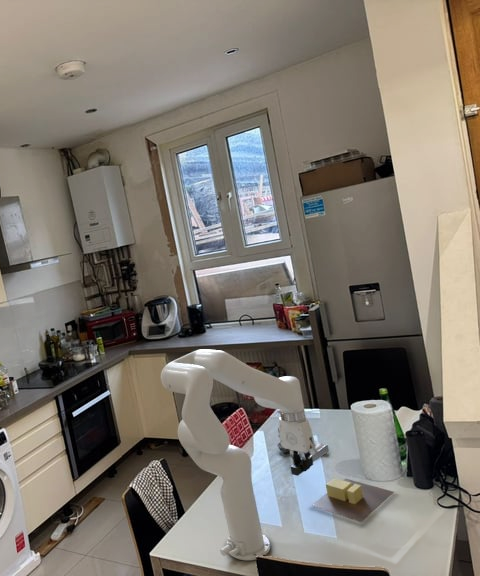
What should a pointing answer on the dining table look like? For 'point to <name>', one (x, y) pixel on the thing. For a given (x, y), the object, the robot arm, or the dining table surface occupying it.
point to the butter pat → (355, 493)
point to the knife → (297, 467)
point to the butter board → (361, 508)
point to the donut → (317, 445)
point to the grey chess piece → (282, 449)
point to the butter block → (338, 489)
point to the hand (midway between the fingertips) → (302, 468)
